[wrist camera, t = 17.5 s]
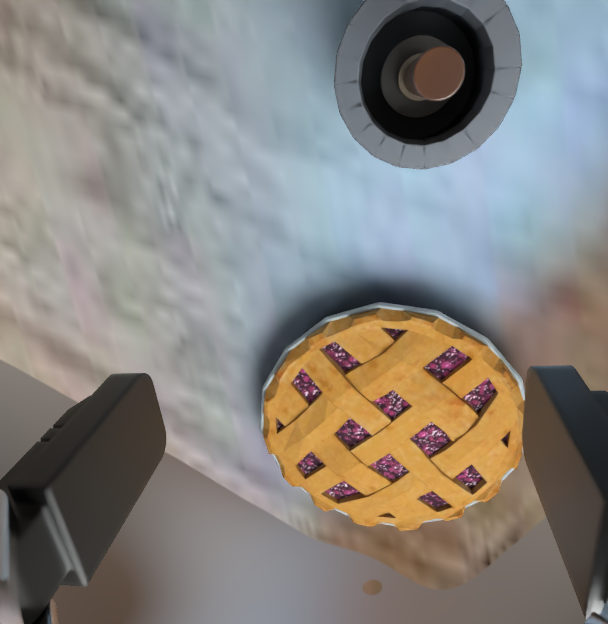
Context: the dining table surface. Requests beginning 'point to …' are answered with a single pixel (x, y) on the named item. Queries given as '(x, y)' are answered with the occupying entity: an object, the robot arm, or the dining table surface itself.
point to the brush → (421, 76)
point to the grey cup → (463, 104)
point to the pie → (394, 415)
